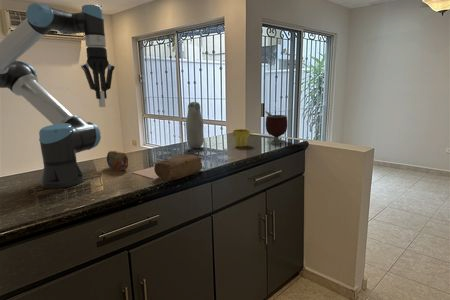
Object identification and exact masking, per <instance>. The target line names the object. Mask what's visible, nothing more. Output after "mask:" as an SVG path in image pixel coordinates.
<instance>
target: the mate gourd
mask: <svg viewBox="0 0 450 300" xmlns="http://www.w3.org/2000/svg"><path fill="white" fill-rule="evenodd" d="M264 113H266V114H267V115H266V118H265V130H266V132H267V134H268V135H270V136H271V137H273V139H268V140H266V143H267V144H270V143H272V145H275V144H274V143H283V144H286V143H287V141H286V140H285V139H280V137H281V136H283V135H285V134H286V132H287V129H288V116H287V115H285V114H272V113H270V112H268V111H266V110H264ZM285 142H286V143H285Z"/></svg>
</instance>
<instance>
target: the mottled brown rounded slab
mask: <svg viewBox="0 0 450 300" xmlns="http://www.w3.org/2000/svg"><path fill="white" fill-rule="evenodd" d="M128 159H129V158H128V156H127V154H126V153H125V152H122V151H117V150H109V151H108V152H107V155H106V162H107V166H108V168H110V169H111V170H114V171H115V170H116V171H119V172H121V171H126V170H127V169H128V167H129V160H128Z"/></svg>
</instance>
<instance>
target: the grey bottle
mask: <svg viewBox="0 0 450 300" xmlns="http://www.w3.org/2000/svg"><path fill="white" fill-rule="evenodd" d="M185 130H186V131H185V132H186V143H187V145H188V147H189V148H192V149H200V148H202V146H203V144H204V141H205V139H204V137H205V136H204V120H203V116H202V111H201V104H200V103H199V102H197V101H190V102H189V103H188V105H187V116H186V119H185Z"/></svg>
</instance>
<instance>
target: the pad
mask: <svg viewBox="0 0 450 300" xmlns="http://www.w3.org/2000/svg"><path fill="white" fill-rule="evenodd" d="M154 167H155V166H151V167H146V168H144V169H140V170H139V169H138V170H136V171H135V170H134V171H132V174H135V175H138V176H142V177H145V178H148V179H151V180H155V181H156V180H158V179H159V180H160V179H161V177H158V176H157V175H156V173H155V170H154Z"/></svg>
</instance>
